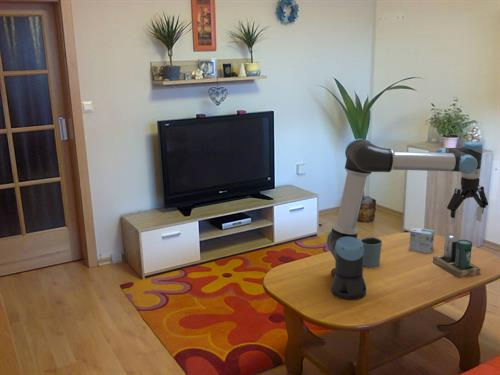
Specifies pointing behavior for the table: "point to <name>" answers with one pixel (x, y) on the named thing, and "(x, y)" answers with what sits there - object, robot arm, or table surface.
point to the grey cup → (371, 251)
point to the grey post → (450, 247)
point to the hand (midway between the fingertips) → (466, 222)
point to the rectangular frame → (455, 271)
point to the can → (463, 254)
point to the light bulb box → (421, 240)
